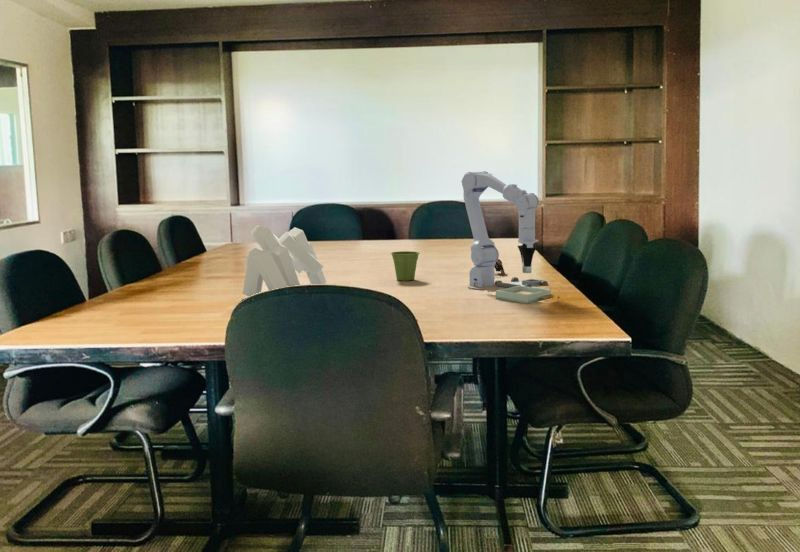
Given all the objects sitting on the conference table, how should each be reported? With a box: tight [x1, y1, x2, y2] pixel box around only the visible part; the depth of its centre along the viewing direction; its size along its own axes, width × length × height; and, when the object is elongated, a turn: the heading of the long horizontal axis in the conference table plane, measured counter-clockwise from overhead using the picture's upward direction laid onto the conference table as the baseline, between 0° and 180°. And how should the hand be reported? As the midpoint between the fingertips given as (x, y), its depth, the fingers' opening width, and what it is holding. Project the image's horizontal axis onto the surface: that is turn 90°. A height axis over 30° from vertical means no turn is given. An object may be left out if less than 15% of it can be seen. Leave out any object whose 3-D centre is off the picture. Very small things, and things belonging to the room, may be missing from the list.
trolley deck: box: [494, 276, 549, 288], centre depth 279 cm, size 15×15×3 cm
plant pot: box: [390, 250, 420, 282], centre depth 305 cm, size 12×12×11 cm
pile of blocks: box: [242, 224, 327, 297], centre depth 271 cm, size 35×30×35 cm
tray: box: [495, 286, 552, 305], centre depth 259 cm, size 14×14×3 cm
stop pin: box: [521, 255, 533, 274], centre depth 265 cm, size 3×3×7 cm
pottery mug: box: [494, 258, 506, 276], centre depth 317 cm, size 12×10×8 cm
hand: (526, 265), depth 266 cm, fingers closed on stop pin, 3 cm apart
